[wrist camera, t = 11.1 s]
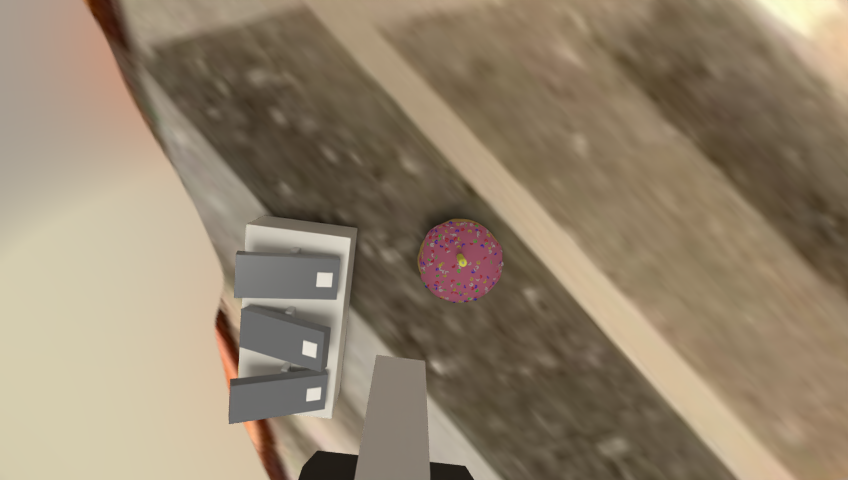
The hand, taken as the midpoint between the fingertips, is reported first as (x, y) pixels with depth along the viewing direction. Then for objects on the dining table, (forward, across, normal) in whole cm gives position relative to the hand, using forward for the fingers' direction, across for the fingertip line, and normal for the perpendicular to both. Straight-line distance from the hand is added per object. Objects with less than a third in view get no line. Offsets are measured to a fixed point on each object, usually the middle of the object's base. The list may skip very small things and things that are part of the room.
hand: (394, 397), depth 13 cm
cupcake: (+33, +6, -3) cm, 34 cm away
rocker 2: (+26, -10, -12) cm, 30 cm away
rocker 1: (+26, -10, -6) cm, 28 cm away
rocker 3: (+26, -10, -19) cm, 33 cm away
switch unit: (+33, -10, -12) cm, 37 cm away
